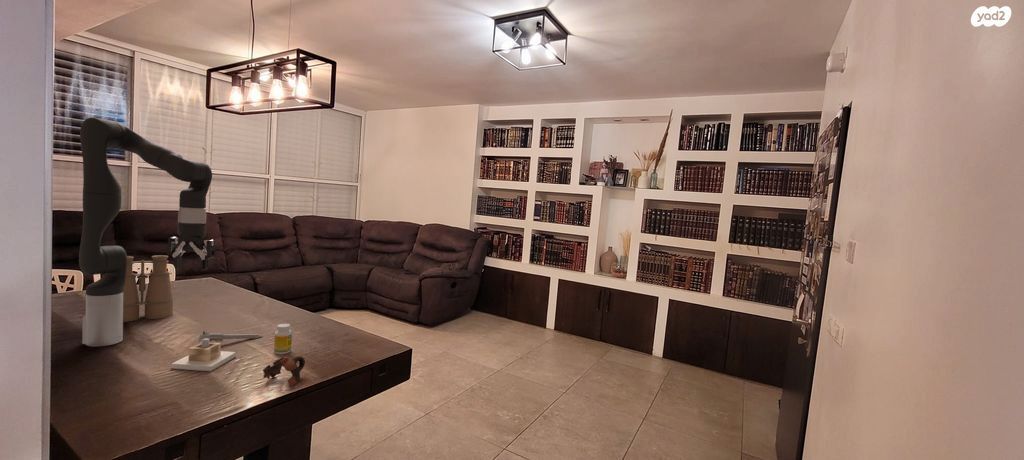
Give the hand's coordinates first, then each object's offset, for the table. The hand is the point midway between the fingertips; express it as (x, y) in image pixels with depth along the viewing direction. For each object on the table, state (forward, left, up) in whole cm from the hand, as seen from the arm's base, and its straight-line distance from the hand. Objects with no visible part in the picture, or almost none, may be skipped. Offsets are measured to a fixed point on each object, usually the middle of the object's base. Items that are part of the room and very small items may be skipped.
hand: (191, 269), depth 141 cm
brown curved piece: (+41, -16, -28) cm, 52 cm away
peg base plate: (+11, -8, -28) cm, 31 cm away
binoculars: (-41, +30, -28) cm, 58 cm away
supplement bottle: (+29, +5, -28) cm, 41 cm away
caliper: (+8, +10, -29) cm, 31 cm away
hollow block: (+11, -8, -27) cm, 30 cm away
